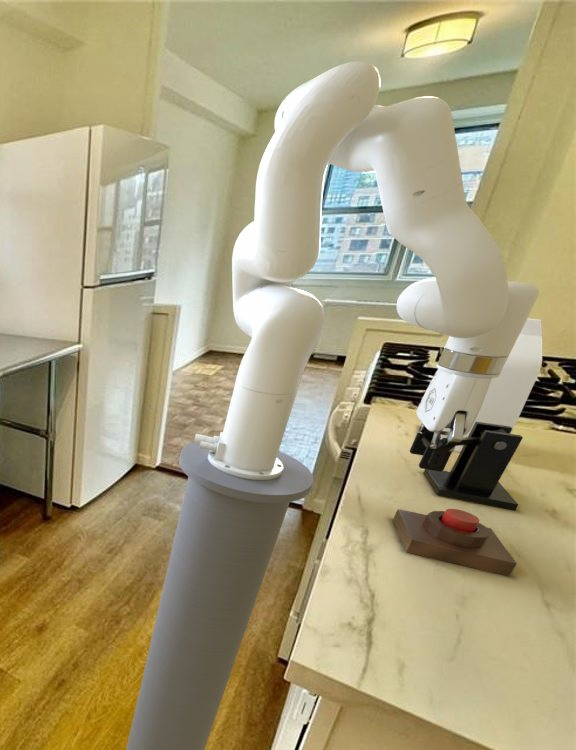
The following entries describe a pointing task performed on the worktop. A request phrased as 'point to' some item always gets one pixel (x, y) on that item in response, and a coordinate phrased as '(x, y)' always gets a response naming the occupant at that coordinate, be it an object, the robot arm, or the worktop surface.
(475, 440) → the lever
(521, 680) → the worktop surface
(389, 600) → the worktop surface
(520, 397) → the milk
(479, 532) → the button box
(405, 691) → the worktop surface
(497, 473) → the bracket
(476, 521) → the button
